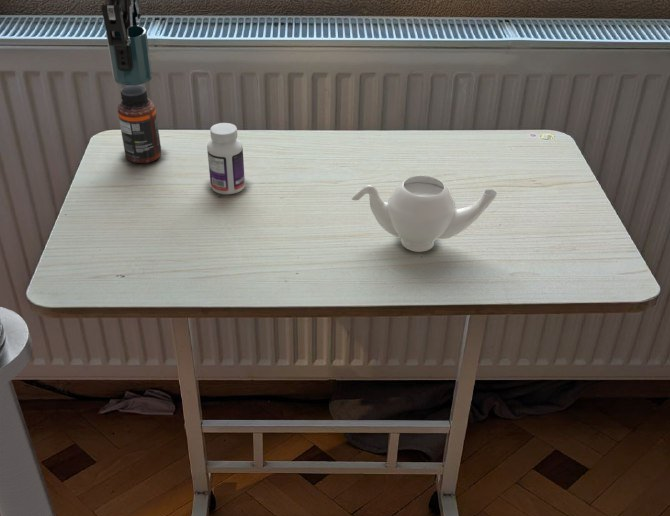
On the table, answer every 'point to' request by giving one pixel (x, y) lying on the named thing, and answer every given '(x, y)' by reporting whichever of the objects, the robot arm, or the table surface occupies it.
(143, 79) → the cup
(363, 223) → the table surface
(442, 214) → the teapot
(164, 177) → the table surface
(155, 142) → the supplement bottle
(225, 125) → the pill bottle
